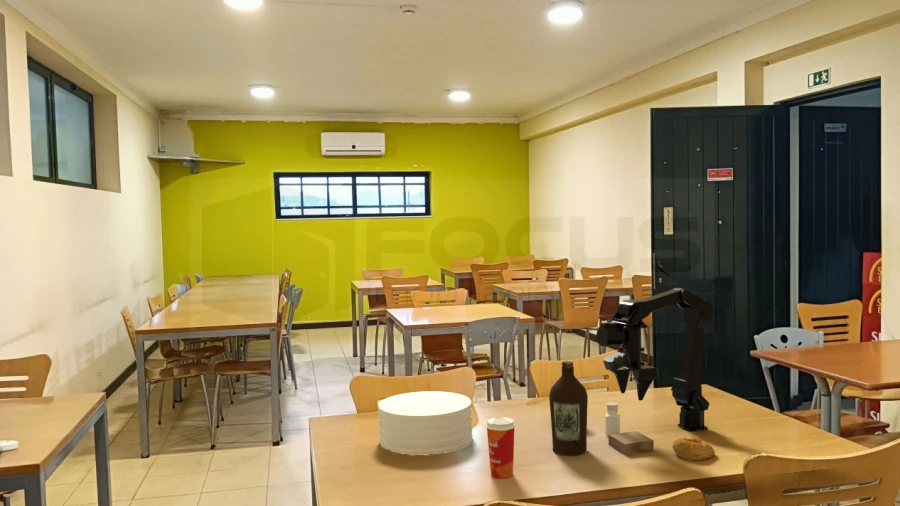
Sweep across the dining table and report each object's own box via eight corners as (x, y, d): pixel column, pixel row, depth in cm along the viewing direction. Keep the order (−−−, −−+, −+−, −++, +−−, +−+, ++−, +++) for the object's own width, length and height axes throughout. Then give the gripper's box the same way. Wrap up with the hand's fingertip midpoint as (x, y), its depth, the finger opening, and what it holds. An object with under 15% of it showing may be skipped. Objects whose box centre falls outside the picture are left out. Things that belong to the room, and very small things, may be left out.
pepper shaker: (620, 433, 203) (619, 402, 202) (619, 437, 199) (618, 405, 199) (606, 432, 204) (606, 401, 204) (605, 436, 200) (604, 405, 200)
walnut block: (636, 441, 195) (636, 431, 195) (653, 451, 187) (653, 440, 186) (608, 444, 193) (608, 434, 193) (624, 454, 184) (624, 444, 184)
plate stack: (491, 437, 203) (490, 400, 203) (426, 463, 183) (424, 421, 183) (426, 421, 223) (425, 387, 222) (360, 443, 202) (358, 405, 202)
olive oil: (553, 443, 196) (551, 358, 195) (590, 445, 193) (588, 359, 192) (547, 455, 186) (545, 365, 185) (586, 458, 182) (584, 366, 182)
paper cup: (485, 470, 176) (483, 417, 175) (514, 468, 176) (512, 415, 176) (489, 481, 168) (487, 426, 167) (519, 479, 169) (518, 424, 168)
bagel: (721, 461, 178) (720, 443, 177) (679, 462, 178) (678, 444, 178) (707, 449, 188) (706, 432, 187) (667, 450, 188) (667, 433, 187)
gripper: (590, 340, 203) (591, 391, 204) (624, 350, 186) (624, 407, 186) (623, 338, 207) (623, 388, 207) (659, 348, 189) (659, 403, 189)
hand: (631, 396), depth 197 cm, fingers open, 9 cm apart
